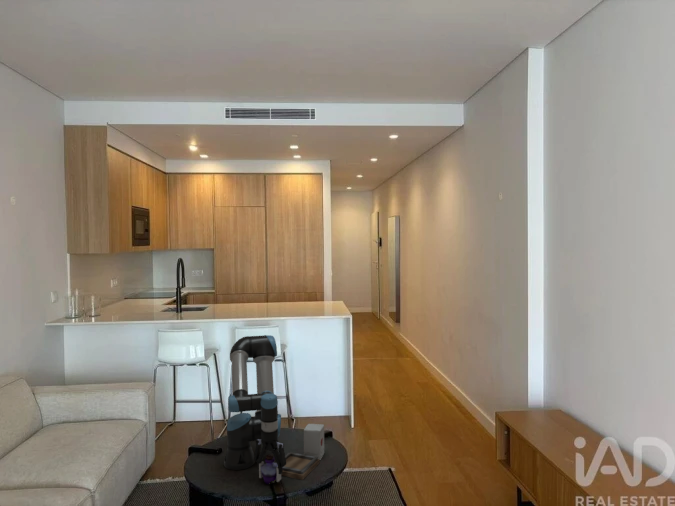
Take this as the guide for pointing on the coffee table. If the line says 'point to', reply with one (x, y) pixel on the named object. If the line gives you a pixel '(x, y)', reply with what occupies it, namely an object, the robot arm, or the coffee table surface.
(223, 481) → the coffee table surface
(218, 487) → the coffee table surface
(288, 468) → the jig plate
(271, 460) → the potion bottle
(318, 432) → the supplement box
